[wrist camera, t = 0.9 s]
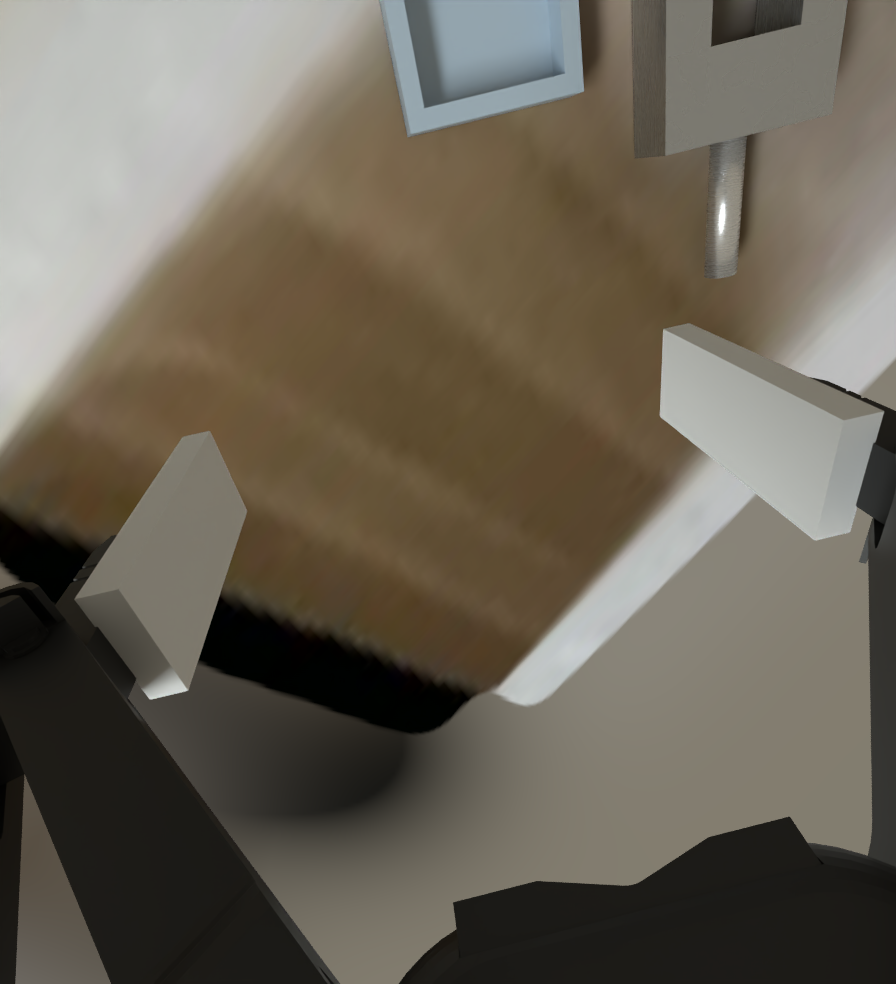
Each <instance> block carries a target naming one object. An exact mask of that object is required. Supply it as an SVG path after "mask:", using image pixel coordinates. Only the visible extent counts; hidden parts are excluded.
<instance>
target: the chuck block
mask: <svg viewBox="0 0 896 984" xmlns="http://www.w3.org/2000/svg"><path fill="white" fill-rule="evenodd" d="M847 2H848V0H757V4H756V18H755V31H754V36H752V37H748V38H744V39H740V40H736V41H732V42H728V43H724V44H720V45H716V46H712V47H711V36H712V11H713V0H632V45H633V94H634V143H635V158H645V157H657V156H666V155H670V154H674V153H678V152H682V151H686V150H690V149H694V148H698V147H702V146H706V145H710V153H709V176H708V200H707V223H706V247H705V270H704V277H706V278H723V277H729V276H732V275H734V274H736V273H737V263H738V250H739V236H740V222H741V209H742V195H743V181H744V168H745V154H746V140H747V135H751V134H755V133H759V132H763V131H767V130H771V129H775V128H779V127H783V126H787V125H791V124H795V123H799V122H803V121H807V120H811V119H815V118H819V117H823V116H827V115H831V114H832V109H833V102H834V95H835V87H836V80H837V73H838V66H839V59H840V52H841V45H842V38H843V31H844V24H845V16H846V9H847Z"/></svg>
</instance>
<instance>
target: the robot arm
mask: <svg viewBox="0 0 896 984" xmlns="http://www.w3.org/2000/svg"><path fill="white" fill-rule="evenodd" d="M660 417H661V418H662V419H664V420H665V421H666V422H667V423H669V424H670V425H671V426H672V427H674V428H675V429H676V430H677V431H679V432H680V433H681V434H682V435H684V436H685V437H686V438H687V439H689V440H690V441H691V442H692V443H694V444H695V445H696V446H697V447H699V448H700V449H701V450H702V451H704V452H705V453H706V454H707V455H709V456H710V457H711V458H712V459H714V460H715V461H716V462H717V463H719V464H720V465H721V466H722V467H724V468H725V469H726V470H727V471H729V472H730V473H731V474H732V475H734V476H735V477H736V478H737V479H739V480H740V481H741V482H742V483H744V484H745V485H746V486H747V487H749V488H750V489H751V490H752V491H754V492H755V493H756V494H757V495H759V496H760V497H761V498H762V499H764V500H765V501H766V502H767V503H768V504H770V505H771V506H772V507H774V508H775V509H776V510H777V511H779V512H780V513H781V514H782V515H783V516H785V517H786V518H787V519H788V520H790V521H791V522H792V523H794V524H795V525H796V526H797V527H799V528H800V529H801V530H802V531H803V532H805V533H806V534H807V535H809V536H810V537H811V538H812V539H813V540H815V541H816V540H819V539H824V538H828V537H832V536H836V535H841V534H845V533H849V532H850V530H851V527H852V524H853V520H854V516H855V513H856V509H857V507H858V508H860V509H861V510H863V511H864V512H866V513H867V514H869V515H870V516H872V517H873V519H872V522H871V525H870V528H869V532H868V535H867V538H866V541H865V545H864V548H863V551H862V555H861V558H860V561H859V562H861V563H866V562H867V560H869V561H868V564H869V565H868V566H869V631H870V695H871V696H870V698H871V758H872V759H871V763H872V836H871V844H870V849H869V853H868V856H866V855H863V854H860V853H856V852H852V851H849V850H845V849H841V848H838V847H833V846H827V845H821V844H815V843H807V842H806V840H805V839H804V837H803V836H802V834H801V833H800V831H799V830H798V828H797V827H796V825H795V824H794V822H793V821H792V819H791V818H790V817H786V818H783V819H778V820H775V821H771V822H767V823H763V824H759V825H755V826H751V827H747V828H743V829H739V830H735V831H731V832H727V833H724V834H720V835H716V836H712V837H709V838H707V839H705V840H704V841H702V842H701V843H699V844H698V845H696V846H695V847H693V848H691V849H690V850H688V851H687V852H685V853H684V854H682V855H681V856H679V857H678V858H676V859H675V860H673V861H672V862H670V863H669V864H667V865H665V866H664V867H662V868H661V869H660V870H658V871H657V872H655V873H653V874H652V875H650V876H649V877H647V878H646V879H644V880H643V881H641V882H639V883H637V884H634V885H629V886H617V885H599V884H580V883H562V882H543V881H536V882H532V883H528V884H524V885H520V886H516V887H512V888H508V889H504V890H500V891H496V892H493V893H489V894H485V895H481V896H477V897H473V898H469V899H465V900H461V901H457V902H454V903H453V905H454V913H455V920H456V927H457V929H456V930H455V931H453V932H452V933H450V934H449V935H447V936H446V937H445V938H443V939H441V940H440V941H439V942H438V943H437V944H436V945H434V946H433V947H432V948H431V949H430V950H428V951H427V952H426V953H425V954H424V955H423V956H422V957H421V958H420V959H419V960H418V961H417V962H416V963H415V965H414V966H413V967H412V968H411V969H410V970H409V971H408V972H407V973H406V975H405V976H404V977H403V979H402V980H401V981H400V983H399V984H896V411H894V410H892V409H890V408H888V407H885V406H883V405H881V404H878V403H876V402H874V401H872V400H869V399H867V398H861V396H860V395H858V394H856V393H854V392H851V391H846V389H844V388H842V387H840V386H838V385H835V384H833V383H831V382H829V381H825V380H820V379H815V378H811V377H807V376H805V375H803V374H801V373H798V372H796V371H794V370H792V369H790V368H787V367H785V366H783V365H781V364H778V363H776V362H774V361H772V360H770V359H767V358H765V357H763V356H761V355H758V354H756V353H754V352H752V351H750V350H747V349H745V348H743V347H741V346H738V345H736V344H734V343H732V342H730V341H727V340H725V339H723V338H721V337H718V336H716V335H714V334H712V333H710V332H707V331H705V330H703V329H701V328H698V327H696V326H694V325H692V324H690V323H688V324H684V325H679V326H675V327H670V328H666V329H663V350H662V376H661V402H660ZM246 513H247V510H246V508H245V506H244V503H243V501H242V499H241V497H240V495H239V493H238V490H237V488H236V486H235V484H234V482H233V480H232V477H231V475H230V473H229V471H228V469H227V467H226V464H225V462H224V460H223V458H222V456H221V454H220V451H219V449H218V447H217V445H216V443H215V441H214V438H213V436H212V434H211V432H210V431H207V432H202V433H198V434H194V435H189V436H185V437H182V439H181V440H180V442H179V443H178V445H177V446H176V448H175V449H174V451H173V452H172V454H171V455H170V457H169V458H168V460H167V461H166V463H165V464H164V466H163V467H162V469H161V470H160V472H159V473H158V475H157V476H156V478H155V479H154V481H153V482H152V484H151V485H150V487H149V488H148V490H147V491H146V493H145V494H144V496H143V497H142V499H141V500H140V502H139V503H138V505H137V506H136V508H135V509H134V511H133V512H132V514H131V515H130V517H129V518H128V520H127V521H126V523H125V524H124V526H123V527H122V529H121V530H120V532H119V533H118V535H114V536H111V537H110V538H109V539H107V540H106V541H105V542H104V543H103V544H101V545H100V546H99V547H98V548H97V549H96V550H94V551H93V552H92V554H91V555H90V557H89V558H88V560H87V561H86V562H85V564H84V565H83V567H82V568H83V570H80V571H79V572H78V574H77V575H76V577H75V578H74V582H73V583H71V584H70V585H69V587H68V588H67V589H66V591H65V592H64V594H63V595H62V597H61V598H60V599H59V601H58V602H57V604H56V605H54V604H53V603H52V602H51V600H50V599H49V598H48V597H47V595H46V594H45V593H44V592H43V590H42V589H41V588H40V586H38V585H36V584H34V583H19V584H16V585H12V586H9V587H5V588H3V589H1V590H0V984H15V976H16V952H17V930H18V928H17V927H18V907H19V883H20V861H21V838H22V815H23V792H24V791H23V790H24V774H25V776H26V778H27V781H28V783H29V786H30V788H31V790H32V793H33V795H34V797H35V800H36V802H37V805H38V807H39V810H40V812H41V815H42V817H43V820H44V822H45V824H46V827H47V829H48V832H49V834H50V836H51V839H52V841H53V844H54V846H55V849H56V851H57V853H58V856H59V858H60V860H61V863H62V865H63V868H64V870H65V873H66V875H67V878H68V880H69V882H70V885H71V887H72V890H73V892H74V895H75V897H76V899H77V902H78V904H79V907H80V909H81V912H82V914H83V916H84V919H85V921H86V924H87V926H88V929H89V931H90V933H91V936H92V938H93V941H94V943H95V946H96V948H97V950H98V953H99V955H100V958H101V960H102V962H103V965H104V967H105V970H106V972H107V974H108V977H109V979H110V982H111V984H340V983H339V982H338V980H337V979H336V978H335V976H334V975H333V974H332V972H331V971H330V970H329V968H328V967H327V966H326V964H325V963H324V962H323V960H322V959H321V958H320V956H319V955H318V954H317V952H316V951H315V950H314V949H313V947H312V946H311V944H310V943H309V942H308V940H307V939H306V937H305V936H304V935H303V934H302V932H301V931H300V929H299V928H298V927H297V925H296V924H295V923H294V921H293V920H292V919H291V917H290V916H289V915H288V913H287V912H286V911H285V909H284V908H283V907H282V905H281V904H280V903H279V901H278V900H277V898H276V897H275V896H274V894H273V893H272V892H271V890H270V889H269V888H268V886H267V885H266V883H265V882H264V881H263V879H262V878H261V877H260V875H259V874H258V873H257V871H256V870H255V869H254V867H253V866H252V865H251V863H250V862H249V861H248V859H247V858H246V856H245V855H244V854H243V852H242V851H241V850H240V848H239V847H238V846H237V844H236V843H235V842H234V840H233V839H232V838H231V836H230V835H229V834H228V832H227V831H226V829H224V827H223V826H222V824H221V823H220V822H219V820H218V819H217V817H216V816H215V815H214V813H213V812H212V811H211V809H210V808H209V807H208V806H207V804H206V803H205V801H204V800H203V798H202V797H201V796H200V794H199V793H198V792H197V790H196V789H195V788H194V787H193V785H192V784H191V782H190V781H189V780H188V778H187V777H186V775H185V774H184V773H183V772H182V770H181V769H180V767H179V766H178V765H177V763H176V762H175V761H174V759H173V758H172V757H171V755H170V754H169V753H168V751H167V750H166V748H165V747H164V746H163V744H162V743H161V742H160V740H159V739H158V738H157V736H156V735H155V734H154V732H153V731H152V730H151V728H150V727H149V726H148V724H147V723H146V721H145V720H144V719H143V717H142V716H141V715H140V713H139V712H138V711H137V710H136V708H135V707H134V705H133V704H132V703H131V702H130V700H129V699H128V696H129V694H130V692H131V690H132V688H133V685H134V683H135V681H136V682H137V683H138V684H139V686H140V687H141V688H142V690H143V691H144V692H145V694H146V695H147V696H148V698H149V699H150V700H151V699H155V698H159V697H163V696H167V695H172V694H176V693H180V692H184V691H188V689H189V686H190V683H191V680H192V677H193V674H194V671H195V668H196V665H197V662H198V659H199V656H200V653H201V650H202V647H203V644H204V641H205V638H206V635H207V632H208V629H209V626H210V623H211V619H212V616H213V613H214V610H215V607H216V604H217V601H218V598H219V595H220V592H221V589H222V586H223V583H224V580H225V577H226V574H227V571H228V568H229V565H230V562H231V559H232V556H233V553H234V550H235V547H236V544H237V541H238V537H239V534H240V531H241V528H242V525H243V522H244V519H245V516H246Z"/></svg>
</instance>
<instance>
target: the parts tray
mask: <svg viewBox="0 0 896 984" xmlns="http://www.w3.org/2000/svg"><path fill="white" fill-rule="evenodd" d="M379 2H380V7H381V11H382V16H383V21H384V26H385V31H386V35H387V40H388V45H389V50H390V55H391V59H392V64H393V69H394V74H395V79H396V83H397V88H398V93H399V98H400V102H401V107H402V112H403V117H404V122H405V126H406V131H407V136H408V137H412V136H416V135H420V134H424V133H428V132H432V131H436V130H440V129H444V128H448V127H452V126H456V125H460V124H464V123H468V122H472V121H476V120H480V119H484V118H488V117H492V116H496V115H500V114H504V113H508V112H512V111H517V110H521V109H525V108H529V107H533V106H537V105H541V104H545V103H549V102H553V101H557V100H561V99H565V98H569V97H572V96H574V95H576V94H579V93H581V92H584V83H583V66H582V49H581V33H580V16H579V0H379Z"/></svg>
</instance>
